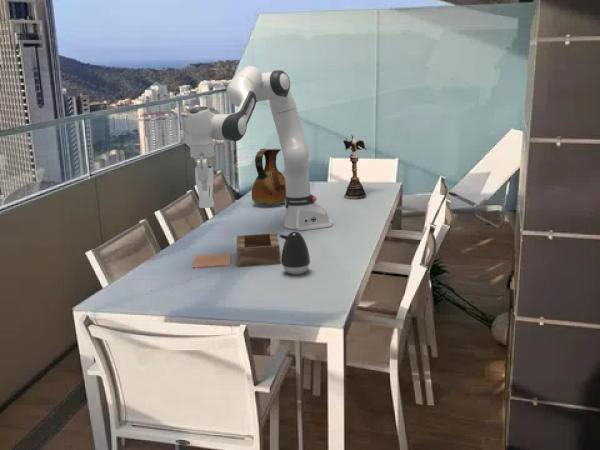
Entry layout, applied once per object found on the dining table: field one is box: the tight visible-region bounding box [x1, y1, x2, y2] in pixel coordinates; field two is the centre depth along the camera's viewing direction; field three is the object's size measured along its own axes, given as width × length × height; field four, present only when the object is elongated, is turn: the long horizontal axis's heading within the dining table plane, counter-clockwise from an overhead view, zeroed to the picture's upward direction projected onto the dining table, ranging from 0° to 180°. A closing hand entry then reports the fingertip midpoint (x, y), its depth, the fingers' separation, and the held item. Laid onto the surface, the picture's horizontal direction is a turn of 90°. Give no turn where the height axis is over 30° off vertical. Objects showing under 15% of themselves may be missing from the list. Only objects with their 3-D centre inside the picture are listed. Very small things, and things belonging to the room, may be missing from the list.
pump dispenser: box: [279, 230, 311, 276], centre depth 221 cm, size 10×10×15 cm
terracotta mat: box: [192, 253, 231, 269], centre depth 240 cm, size 14×14×1 cm
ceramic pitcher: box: [251, 148, 286, 206], centre depth 326 cm, size 20×20×30 cm
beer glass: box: [194, 165, 216, 209], centre depth 232 cm, size 7×7×15 cm
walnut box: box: [236, 232, 281, 268], centre depth 240 cm, size 18×16×7 cm
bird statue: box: [342, 133, 368, 200], centre depth 334 cm, size 17×13×35 cm
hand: (205, 188), depth 233 cm, fingers closed on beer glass, 6 cm apart
